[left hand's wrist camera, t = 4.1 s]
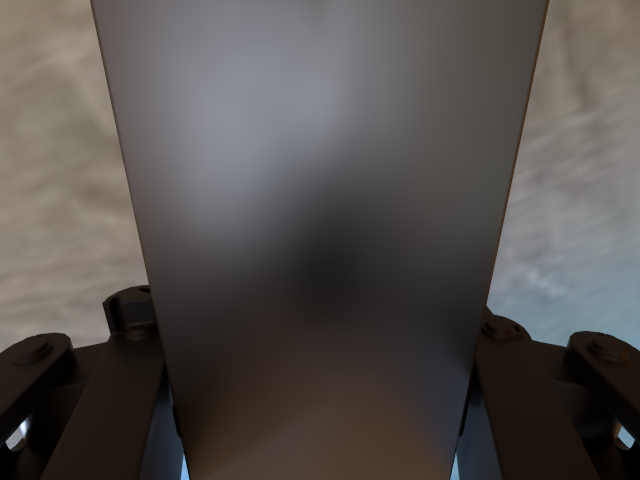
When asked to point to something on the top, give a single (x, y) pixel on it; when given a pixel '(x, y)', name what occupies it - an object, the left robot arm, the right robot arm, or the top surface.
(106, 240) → the top surface
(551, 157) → the top surface
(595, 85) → the top surface
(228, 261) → the bar
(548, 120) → the top surface
